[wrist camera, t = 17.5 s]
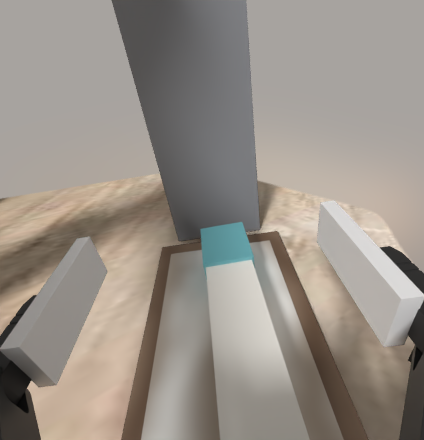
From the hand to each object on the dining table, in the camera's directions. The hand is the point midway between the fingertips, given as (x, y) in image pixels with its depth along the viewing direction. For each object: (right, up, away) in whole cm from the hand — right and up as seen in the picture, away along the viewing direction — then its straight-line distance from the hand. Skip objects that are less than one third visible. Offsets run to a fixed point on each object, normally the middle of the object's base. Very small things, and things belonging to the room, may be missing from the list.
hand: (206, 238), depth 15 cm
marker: (+3, -9, +8) cm, 12 cm away
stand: (+1, +2, +27) cm, 27 cm away
